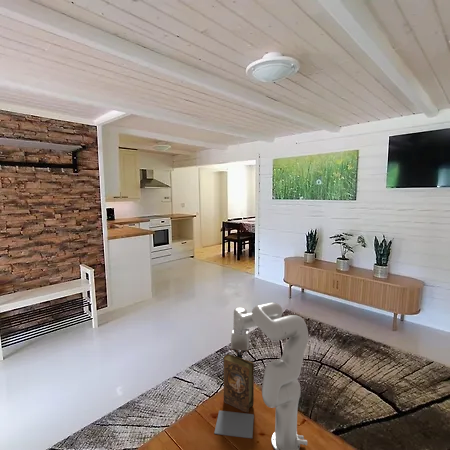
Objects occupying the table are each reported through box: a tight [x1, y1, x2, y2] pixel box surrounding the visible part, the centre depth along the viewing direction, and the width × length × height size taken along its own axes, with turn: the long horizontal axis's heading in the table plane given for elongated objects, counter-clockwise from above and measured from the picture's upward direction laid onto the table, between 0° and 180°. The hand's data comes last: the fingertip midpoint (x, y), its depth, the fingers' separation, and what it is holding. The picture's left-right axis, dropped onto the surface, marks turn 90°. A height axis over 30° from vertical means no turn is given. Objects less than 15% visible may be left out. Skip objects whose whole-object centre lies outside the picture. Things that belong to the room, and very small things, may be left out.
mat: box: [213, 409, 255, 439], centre depth 138 cm, size 18×14×1 cm
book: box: [223, 353, 255, 414], centre depth 150 cm, size 16×6×25 cm, turn 58°
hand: (239, 359), depth 161 cm, fingers closed
